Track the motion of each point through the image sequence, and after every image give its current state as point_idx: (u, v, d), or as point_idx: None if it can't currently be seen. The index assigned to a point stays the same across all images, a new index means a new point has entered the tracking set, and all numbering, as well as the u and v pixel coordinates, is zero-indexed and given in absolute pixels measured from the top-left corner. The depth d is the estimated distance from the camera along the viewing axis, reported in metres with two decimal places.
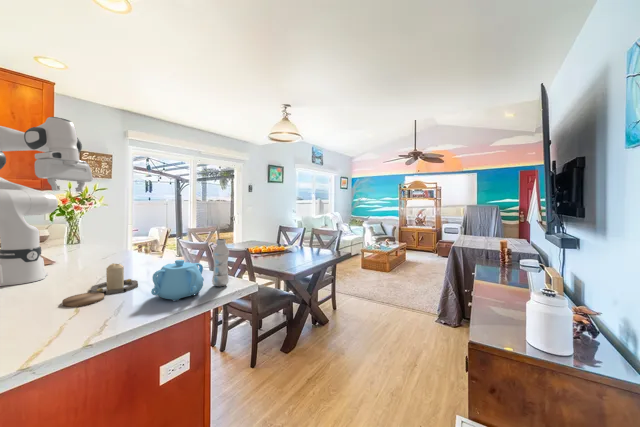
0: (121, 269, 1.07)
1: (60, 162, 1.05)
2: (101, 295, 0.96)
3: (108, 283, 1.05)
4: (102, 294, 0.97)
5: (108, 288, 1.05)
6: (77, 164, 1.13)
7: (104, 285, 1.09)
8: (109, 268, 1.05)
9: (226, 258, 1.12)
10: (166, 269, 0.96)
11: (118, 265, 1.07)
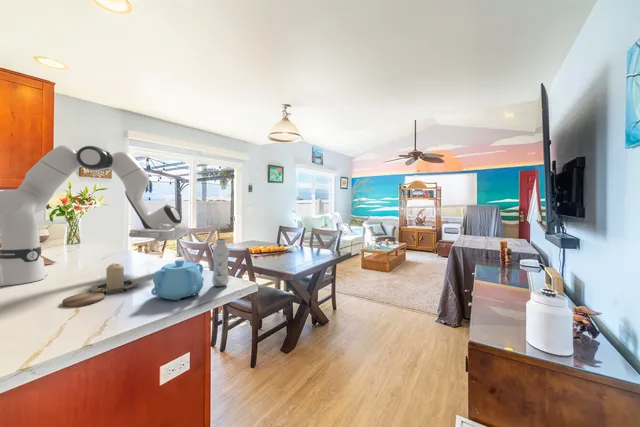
0: (121, 269, 1.07)
1: None
2: (101, 295, 0.96)
3: (108, 283, 1.05)
4: (102, 294, 0.97)
5: (108, 288, 1.05)
6: None
7: (104, 285, 1.09)
8: (109, 268, 1.05)
9: (226, 258, 1.12)
10: (166, 269, 0.96)
11: (118, 265, 1.07)
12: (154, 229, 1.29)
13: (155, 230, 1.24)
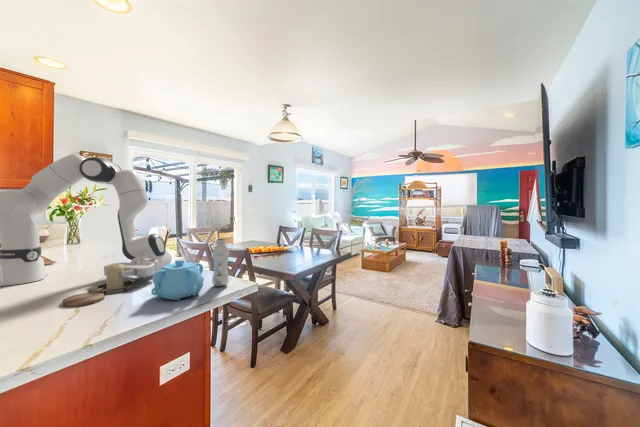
0: (121, 269, 1.07)
1: None
2: (101, 295, 0.96)
3: (108, 283, 1.05)
4: (102, 294, 0.97)
5: (108, 288, 1.05)
6: None
7: (104, 285, 1.09)
8: (109, 268, 1.05)
9: (226, 258, 1.12)
10: (166, 269, 0.96)
11: (118, 265, 1.07)
12: (131, 264, 1.17)
13: (131, 266, 1.11)
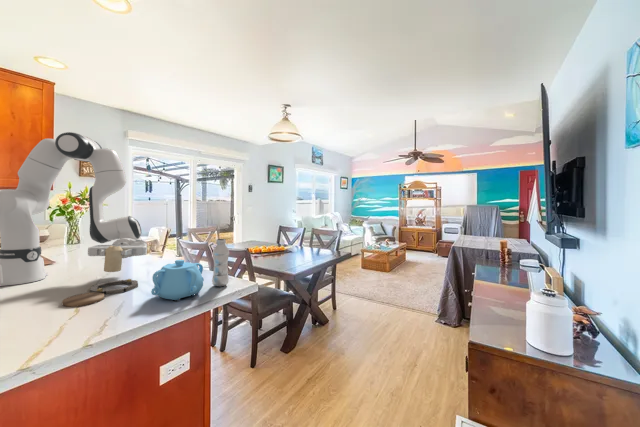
0: None
1: (133, 254, 1.18)
2: (101, 295, 0.96)
3: (109, 265, 1.04)
4: (102, 294, 0.97)
5: (109, 270, 1.05)
6: None
7: (104, 285, 1.09)
8: (111, 250, 1.05)
9: (226, 258, 1.12)
10: (166, 269, 0.96)
11: (119, 247, 1.07)
12: (118, 245, 1.15)
13: (127, 246, 1.12)
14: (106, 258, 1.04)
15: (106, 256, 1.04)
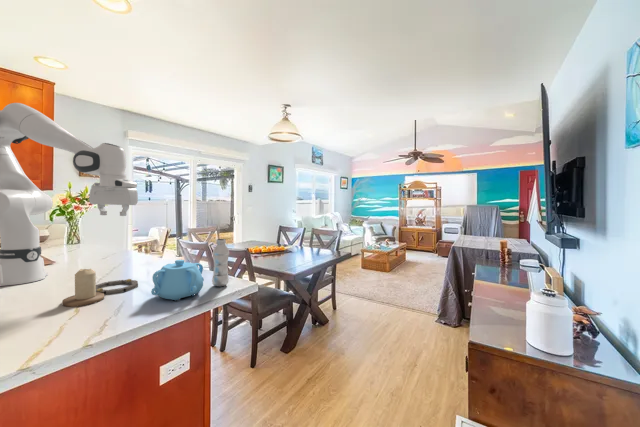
0: (95, 274, 0.95)
1: None
2: (101, 295, 0.96)
3: (80, 291, 0.91)
4: (102, 294, 0.97)
5: (80, 297, 0.91)
6: None
7: (104, 285, 1.09)
8: (81, 274, 0.91)
9: (226, 258, 1.12)
10: (166, 269, 0.96)
11: (91, 270, 0.94)
12: (107, 191, 1.10)
13: (116, 202, 1.10)
14: (76, 284, 0.91)
15: (76, 282, 0.91)
